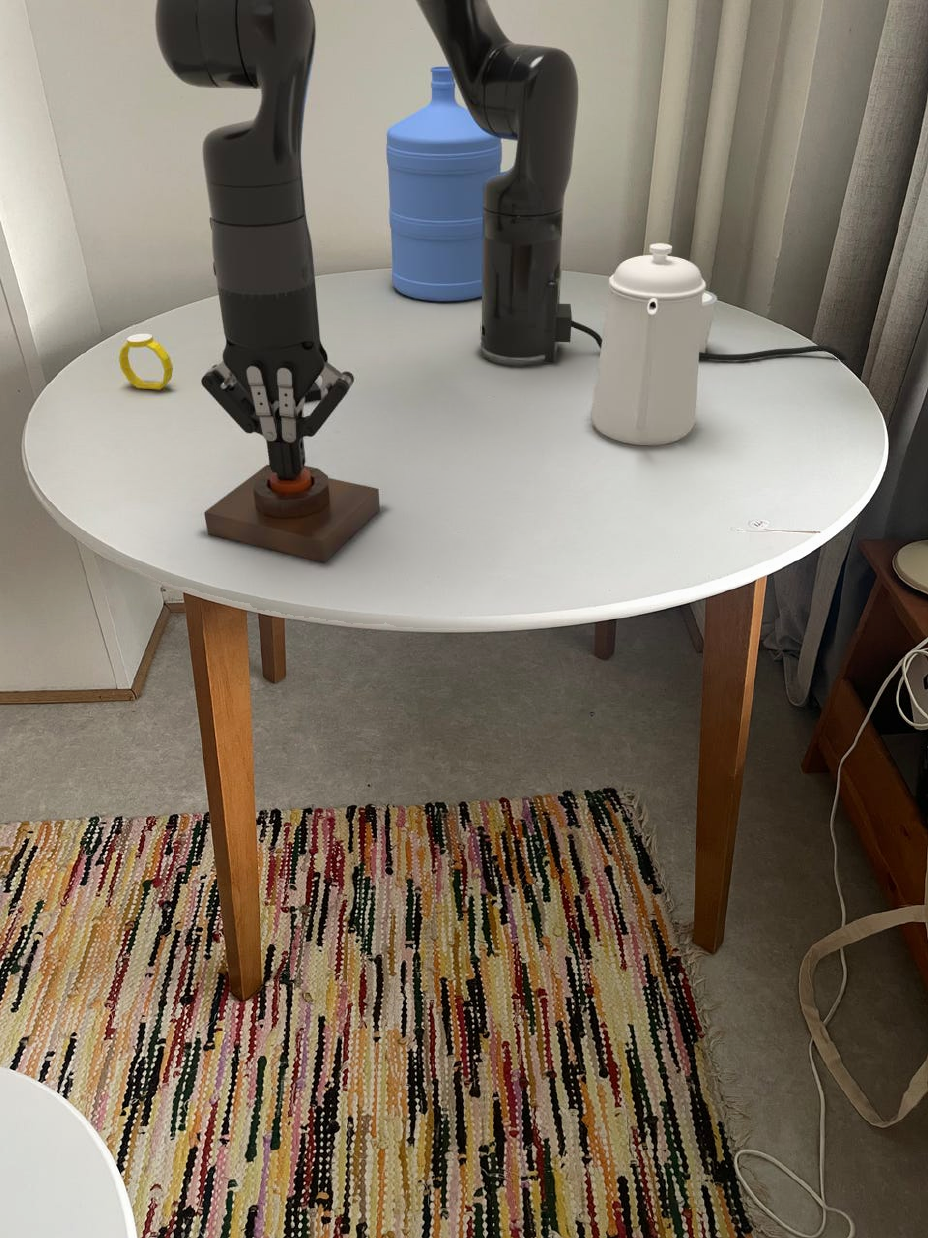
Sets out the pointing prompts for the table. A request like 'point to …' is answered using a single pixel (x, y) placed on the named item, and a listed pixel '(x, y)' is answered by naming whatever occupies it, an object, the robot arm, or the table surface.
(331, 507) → the button block
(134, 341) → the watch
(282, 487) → the button
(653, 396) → the coffeepot
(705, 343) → the white cup
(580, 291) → the table surface
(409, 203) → the water jug
